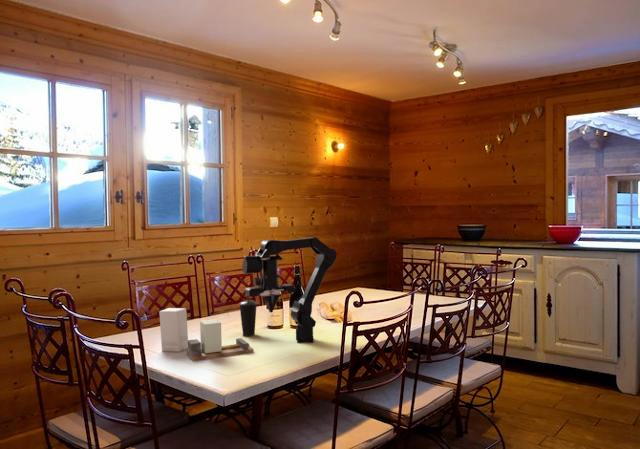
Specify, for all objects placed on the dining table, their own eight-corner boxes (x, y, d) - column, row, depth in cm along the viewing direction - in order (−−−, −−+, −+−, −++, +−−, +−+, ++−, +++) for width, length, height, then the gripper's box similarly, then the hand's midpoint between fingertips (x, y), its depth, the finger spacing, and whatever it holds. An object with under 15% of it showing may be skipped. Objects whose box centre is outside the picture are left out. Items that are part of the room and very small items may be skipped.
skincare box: (189, 348, 201) (187, 308, 200) (179, 352, 195) (177, 311, 194) (170, 346, 204) (169, 307, 203) (160, 351, 197) (158, 310, 197)
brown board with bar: (245, 345, 202) (244, 331, 202) (253, 352, 193) (253, 337, 193) (186, 354, 192) (186, 339, 192) (192, 361, 183) (192, 345, 183)
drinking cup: (254, 337, 215) (253, 289, 214) (237, 337, 217) (235, 289, 216) (260, 333, 223) (259, 286, 222) (243, 332, 224) (242, 286, 223)
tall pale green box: (216, 346, 196) (216, 319, 195) (221, 351, 189) (221, 322, 189) (200, 349, 193) (200, 320, 193) (205, 353, 187) (204, 324, 186)
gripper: (284, 268, 212) (285, 306, 213) (240, 271, 204) (241, 311, 205) (295, 271, 202) (296, 311, 203) (249, 274, 194) (250, 316, 195)
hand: (270, 312), depth 201 cm, fingers closed
